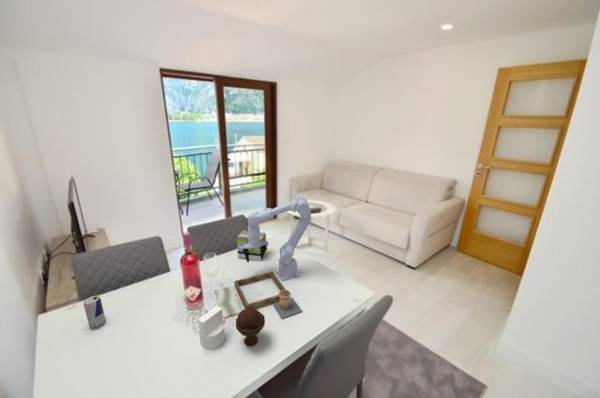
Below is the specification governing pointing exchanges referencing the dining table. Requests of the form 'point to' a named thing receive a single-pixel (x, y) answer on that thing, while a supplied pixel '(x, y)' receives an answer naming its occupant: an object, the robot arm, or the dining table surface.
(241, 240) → the tea box
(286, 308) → the terracotta pot
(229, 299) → the frame
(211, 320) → the cylinder with rectangular tab
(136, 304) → the dining table surface
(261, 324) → the ice cream bowl
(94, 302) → the energy drink
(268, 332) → the dining table surface
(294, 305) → the mat
